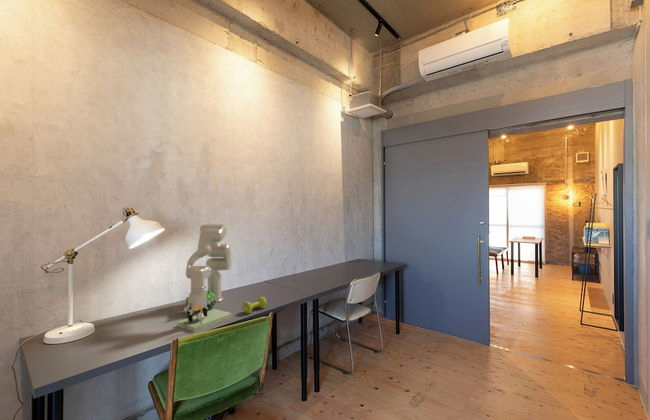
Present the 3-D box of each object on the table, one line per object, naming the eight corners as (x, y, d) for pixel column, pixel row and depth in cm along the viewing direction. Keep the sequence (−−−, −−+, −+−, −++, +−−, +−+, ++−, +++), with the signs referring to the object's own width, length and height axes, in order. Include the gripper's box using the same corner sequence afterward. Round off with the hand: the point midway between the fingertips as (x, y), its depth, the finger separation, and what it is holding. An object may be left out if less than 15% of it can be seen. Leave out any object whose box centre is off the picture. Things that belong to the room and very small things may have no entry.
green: (177, 326, 171) (177, 302, 171) (214, 312, 193) (214, 291, 193) (194, 332, 162) (194, 306, 162) (231, 317, 185) (231, 295, 185)
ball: (193, 316, 173) (198, 310, 176) (197, 320, 175) (201, 314, 178) (197, 317, 171) (202, 311, 174) (201, 321, 173) (206, 315, 176)
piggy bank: (187, 309, 199) (186, 287, 199) (215, 306, 206) (215, 284, 205) (185, 316, 186) (185, 293, 186) (215, 313, 192) (215, 290, 192)
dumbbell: (249, 315, 189) (249, 304, 189) (241, 312, 193) (241, 301, 193) (268, 308, 202) (268, 297, 202) (260, 305, 207) (260, 295, 207)
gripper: (206, 285, 182) (206, 313, 183) (180, 292, 168) (180, 322, 168) (214, 287, 179) (214, 315, 179) (188, 294, 164) (188, 325, 164)
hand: (197, 318), depth 173 cm, fingers open, 9 cm apart
